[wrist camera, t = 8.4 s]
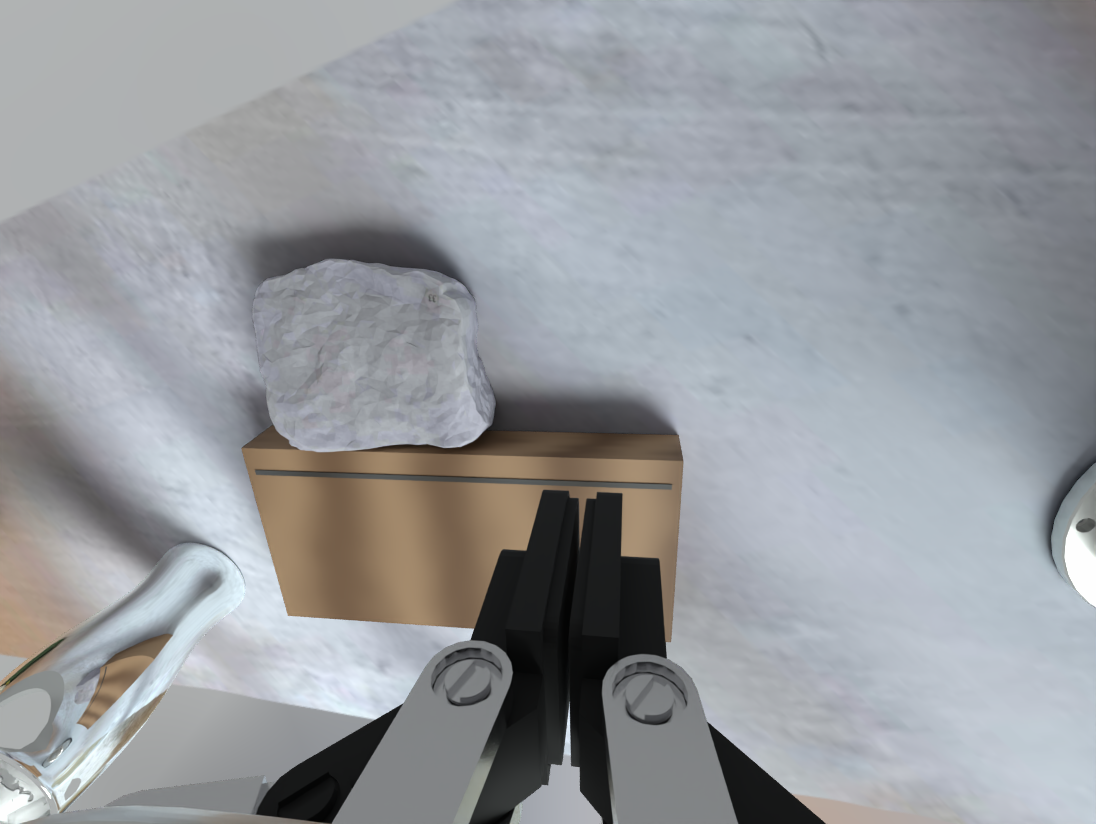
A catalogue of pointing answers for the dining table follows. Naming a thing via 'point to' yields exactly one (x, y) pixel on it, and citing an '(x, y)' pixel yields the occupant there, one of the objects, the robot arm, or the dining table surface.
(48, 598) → the dining table surface
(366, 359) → the stone block
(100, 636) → the beer glass
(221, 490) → the dining table surface
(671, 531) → the brown wooden board
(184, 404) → the dining table surface
